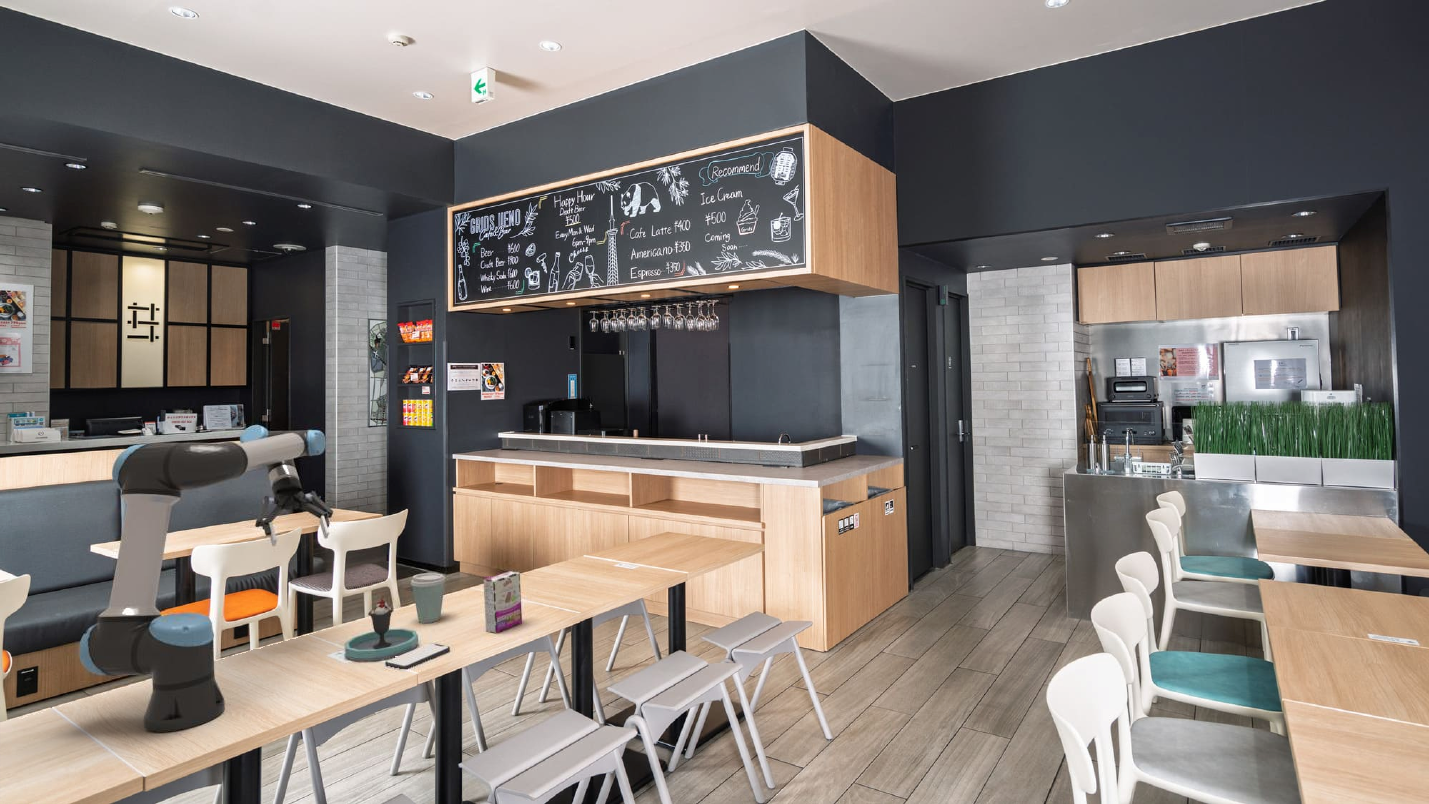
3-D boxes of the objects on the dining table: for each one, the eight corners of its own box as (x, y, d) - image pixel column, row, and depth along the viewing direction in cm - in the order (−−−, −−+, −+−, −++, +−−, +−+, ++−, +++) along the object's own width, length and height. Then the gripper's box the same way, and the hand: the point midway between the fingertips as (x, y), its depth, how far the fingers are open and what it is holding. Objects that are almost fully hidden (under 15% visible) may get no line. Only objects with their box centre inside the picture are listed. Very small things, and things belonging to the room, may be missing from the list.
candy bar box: (511, 621, 235) (509, 570, 235) (522, 623, 233) (521, 572, 233) (484, 631, 226) (482, 578, 225) (496, 634, 223) (494, 580, 223)
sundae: (385, 650, 208) (383, 598, 208) (364, 649, 209) (362, 597, 209) (399, 642, 214) (398, 591, 214) (379, 641, 216) (378, 591, 216)
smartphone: (404, 672, 195) (452, 652, 209) (404, 667, 195) (452, 646, 209) (383, 667, 199) (430, 647, 213) (382, 661, 199) (430, 642, 213)
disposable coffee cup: (438, 613, 246) (437, 569, 246) (452, 620, 238) (451, 574, 238) (406, 621, 239) (405, 575, 238) (420, 628, 231) (419, 580, 231)
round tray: (373, 666, 199) (373, 655, 199) (330, 655, 208) (330, 645, 208) (431, 644, 215) (431, 634, 215) (389, 635, 225) (389, 625, 225)
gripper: (327, 487, 233) (344, 540, 222) (236, 496, 216) (249, 554, 205) (332, 471, 229) (349, 524, 218) (239, 480, 212) (253, 538, 201)
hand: (301, 539), depth 212 cm, fingers open, 13 cm apart
